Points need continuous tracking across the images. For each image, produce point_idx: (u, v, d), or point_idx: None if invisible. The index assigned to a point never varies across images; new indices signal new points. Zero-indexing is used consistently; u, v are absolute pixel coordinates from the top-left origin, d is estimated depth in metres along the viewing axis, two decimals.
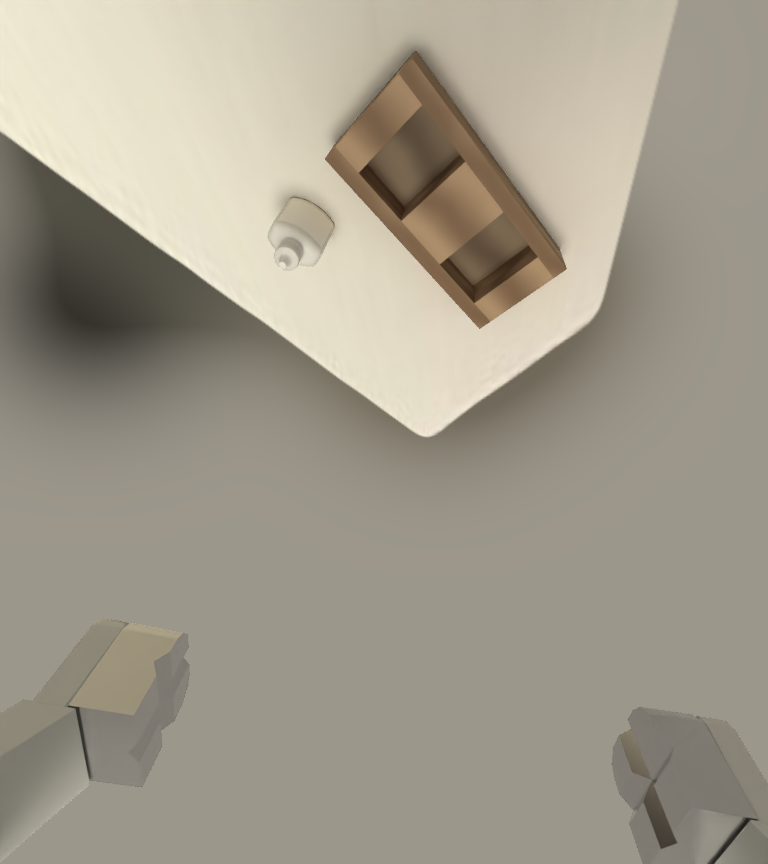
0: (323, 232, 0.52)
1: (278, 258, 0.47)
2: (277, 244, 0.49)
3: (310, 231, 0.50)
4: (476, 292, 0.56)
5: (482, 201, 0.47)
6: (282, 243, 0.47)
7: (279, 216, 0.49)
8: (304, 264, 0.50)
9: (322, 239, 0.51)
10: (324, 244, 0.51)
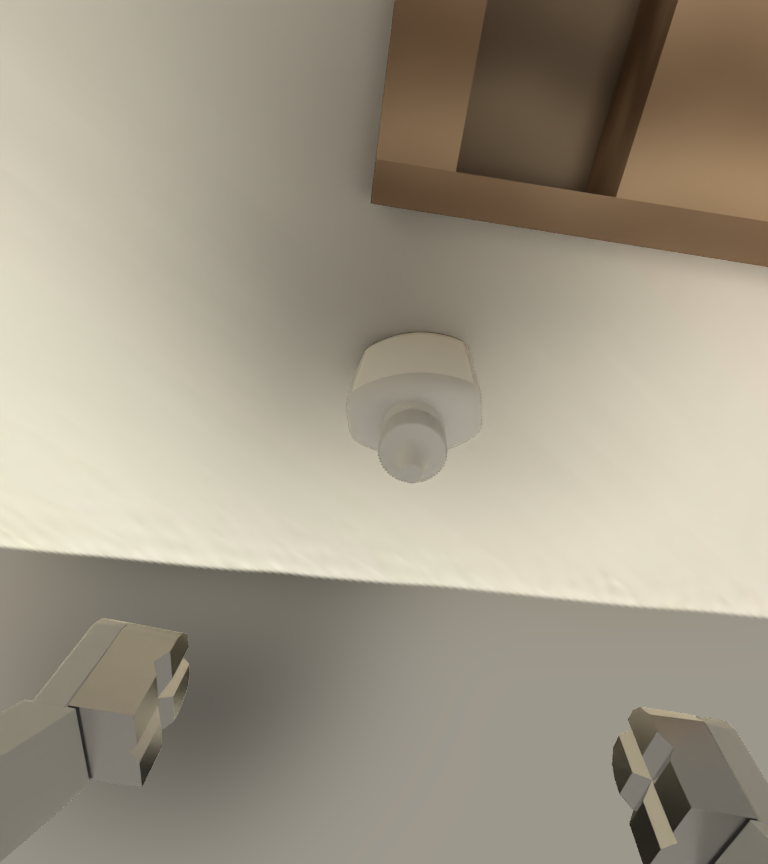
0: (455, 357, 0.22)
1: (394, 465, 0.17)
2: (378, 438, 0.19)
3: (429, 366, 0.20)
4: None
5: None
6: (384, 425, 0.18)
7: (353, 384, 0.21)
8: (458, 440, 0.20)
9: (463, 368, 0.21)
10: (473, 375, 0.21)
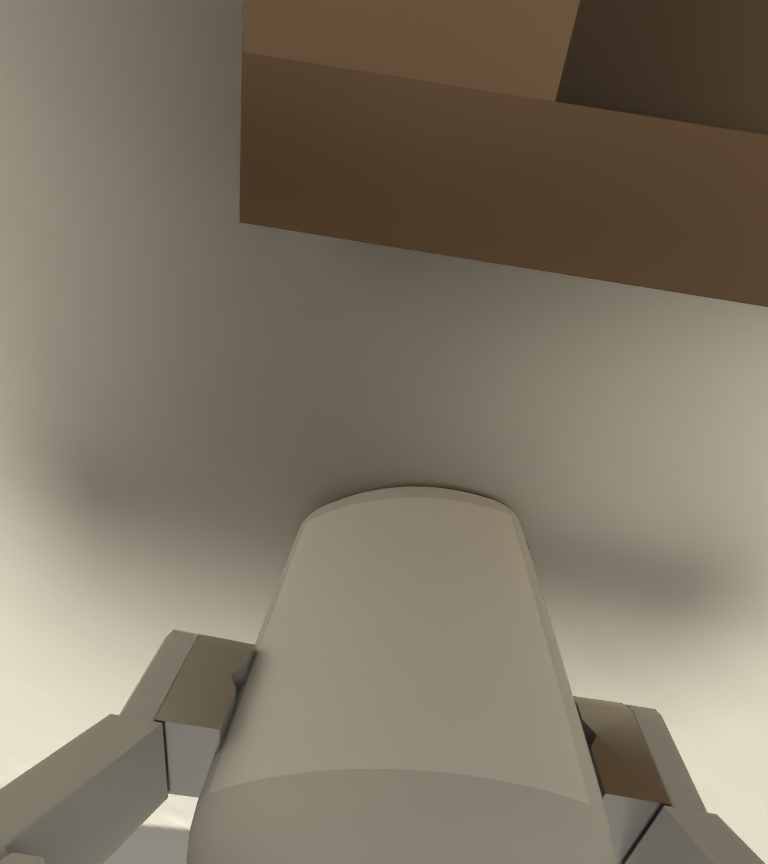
0: (510, 616, 0.09)
1: None
2: None
3: (445, 715, 0.07)
4: None
5: None
6: None
7: (230, 724, 0.08)
8: None
9: (541, 687, 0.07)
10: (570, 712, 0.07)
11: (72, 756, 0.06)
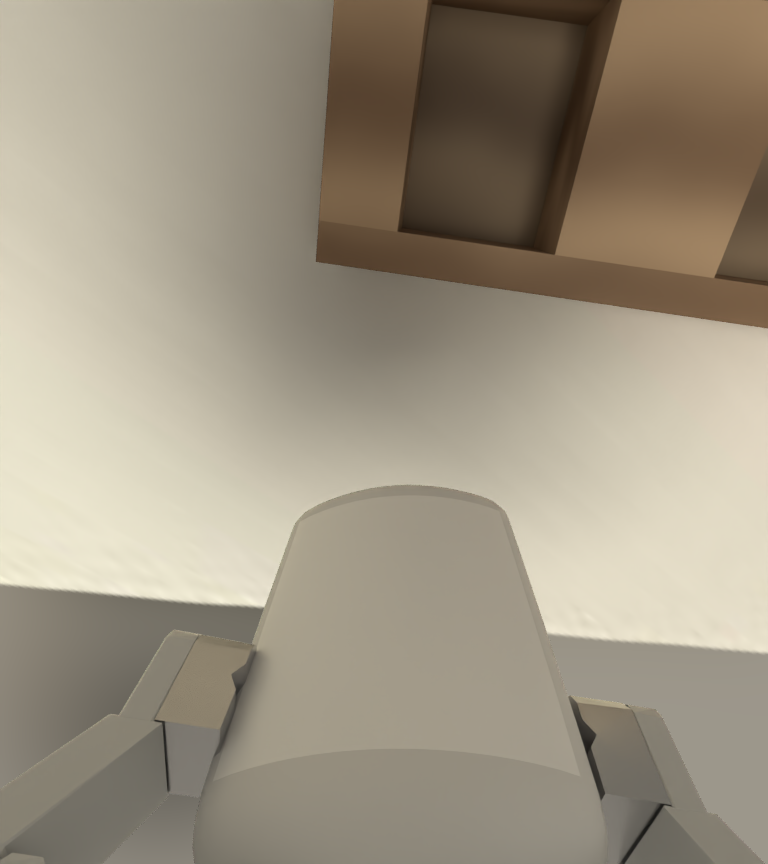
0: (501, 604, 0.09)
1: None
2: None
3: (441, 697, 0.07)
4: None
5: (740, 33, 0.15)
6: None
7: None
8: None
9: (533, 670, 0.08)
10: (560, 693, 0.08)
11: (72, 756, 0.06)
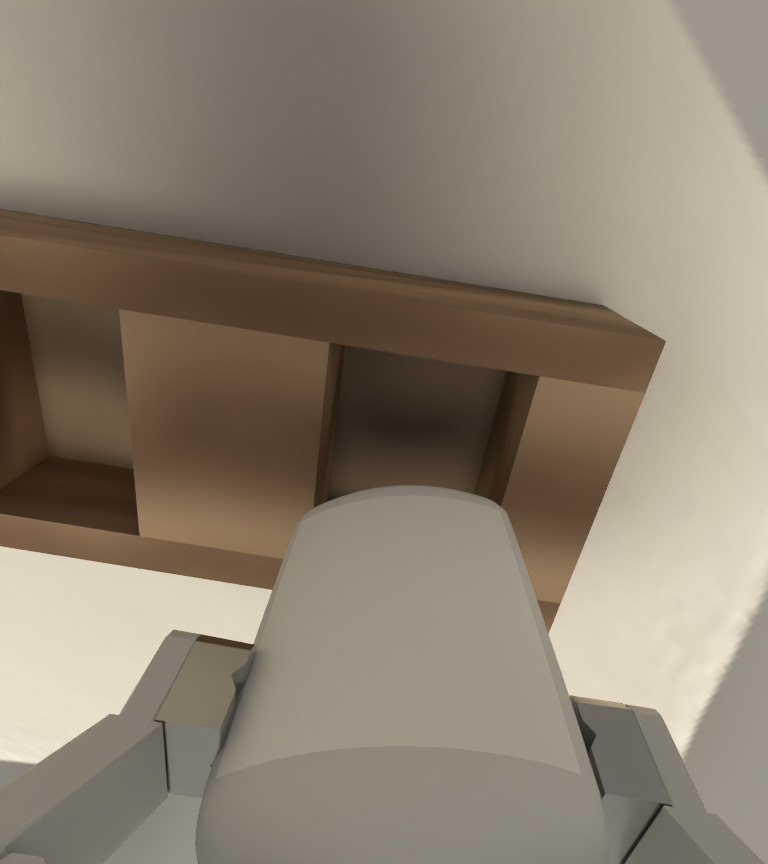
0: (501, 603, 0.09)
1: None
2: None
3: (443, 694, 0.07)
4: None
5: (253, 359, 0.14)
6: None
7: None
8: None
9: (533, 669, 0.08)
10: (560, 691, 0.08)
11: (72, 756, 0.06)
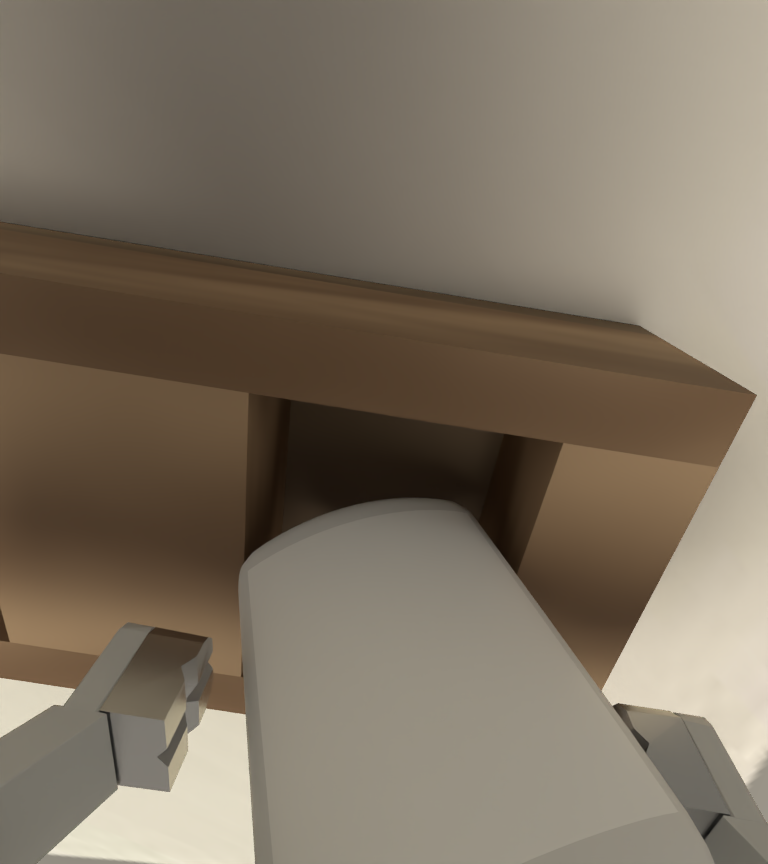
0: (523, 630, 0.08)
1: None
2: None
3: (528, 775, 0.06)
4: None
5: (138, 416, 0.10)
6: None
7: None
8: None
9: (586, 701, 0.07)
10: (615, 716, 0.07)
11: (11, 746, 0.06)
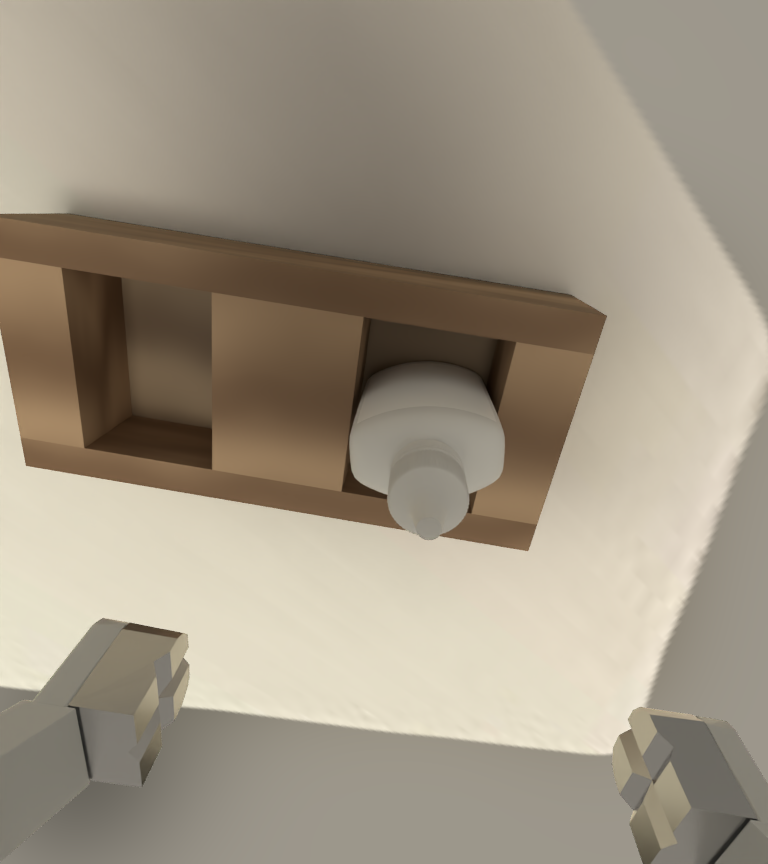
0: (472, 391, 0.20)
1: (406, 515, 0.14)
2: (385, 479, 0.17)
3: (446, 400, 0.18)
4: None
5: (307, 329, 0.19)
6: (395, 467, 0.15)
7: (357, 415, 0.19)
8: (477, 486, 0.17)
9: (483, 404, 0.19)
10: (494, 411, 0.18)
11: None
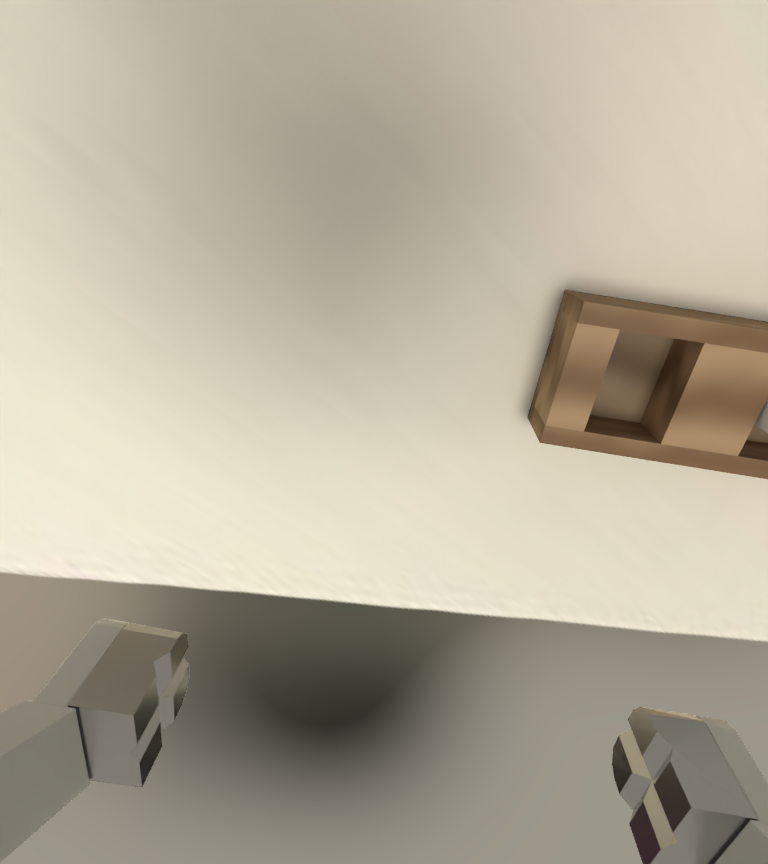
0: None
1: None
2: None
3: None
4: None
5: (753, 363, 0.35)
6: None
7: None
8: None
9: None
10: None
11: None
